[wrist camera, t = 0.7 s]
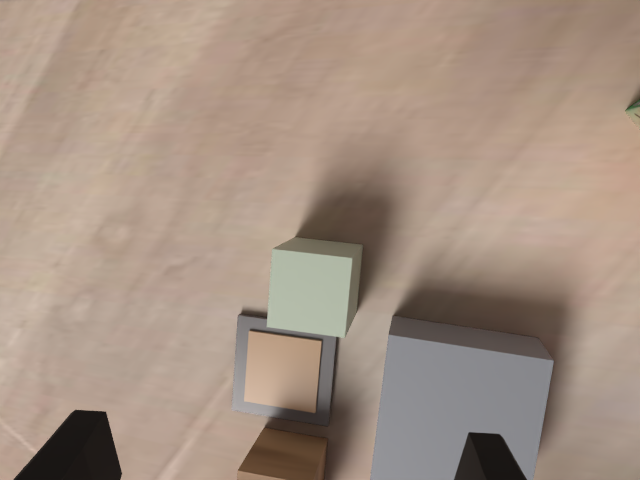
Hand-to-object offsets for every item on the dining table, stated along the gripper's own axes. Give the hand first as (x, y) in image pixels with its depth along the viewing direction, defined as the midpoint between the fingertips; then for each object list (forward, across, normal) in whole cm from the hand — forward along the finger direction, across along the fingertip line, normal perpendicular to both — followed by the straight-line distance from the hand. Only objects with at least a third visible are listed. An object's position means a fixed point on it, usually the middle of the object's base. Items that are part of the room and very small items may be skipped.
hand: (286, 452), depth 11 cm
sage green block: (+19, -1, +10) cm, 21 cm away
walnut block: (+14, 0, +20) cm, 25 cm away
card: (+16, +1, +15) cm, 22 cm away
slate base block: (+15, -9, +15) cm, 23 cm away
